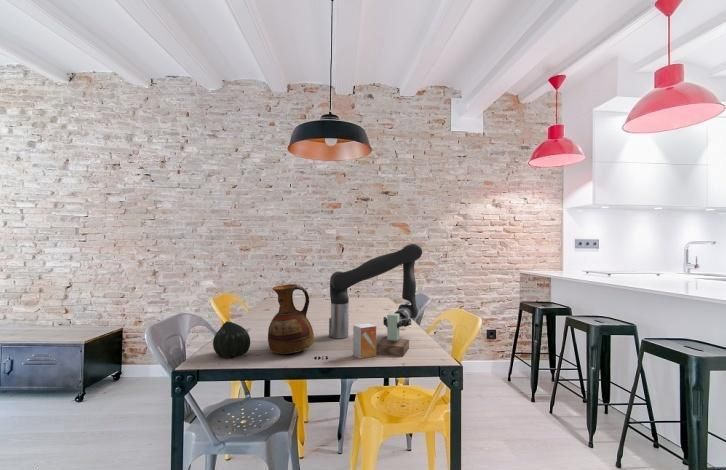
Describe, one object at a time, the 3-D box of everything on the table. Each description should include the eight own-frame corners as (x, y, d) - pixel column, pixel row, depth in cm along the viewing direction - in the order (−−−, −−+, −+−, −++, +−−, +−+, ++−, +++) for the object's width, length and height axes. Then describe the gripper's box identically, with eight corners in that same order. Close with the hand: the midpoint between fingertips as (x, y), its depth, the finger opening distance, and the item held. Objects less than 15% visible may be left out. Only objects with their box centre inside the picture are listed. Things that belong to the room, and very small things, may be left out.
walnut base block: (376, 353, 162) (376, 344, 162) (384, 345, 173) (384, 337, 173) (403, 356, 158) (403, 346, 158) (409, 348, 169) (409, 339, 169)
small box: (360, 359, 153) (360, 328, 154) (352, 355, 159) (352, 325, 159) (376, 356, 158) (376, 325, 158) (368, 352, 163) (368, 322, 163)
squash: (254, 345, 153) (248, 314, 161) (216, 352, 145) (211, 319, 154) (249, 361, 162) (243, 330, 171) (213, 368, 155) (209, 336, 163)
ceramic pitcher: (264, 347, 169) (265, 282, 170) (307, 342, 177) (308, 280, 178) (271, 360, 151) (272, 287, 152) (319, 354, 159) (319, 285, 160)
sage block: (387, 339, 164) (387, 314, 164) (389, 337, 168) (389, 313, 168) (397, 340, 163) (397, 315, 163) (399, 337, 167) (399, 313, 167)
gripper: (386, 308, 182) (376, 315, 166) (415, 310, 177) (408, 318, 161) (386, 324, 182) (376, 332, 166) (415, 326, 177) (407, 335, 161)
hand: (392, 325), depth 164 cm, fingers closed on sage block, 4 cm apart
